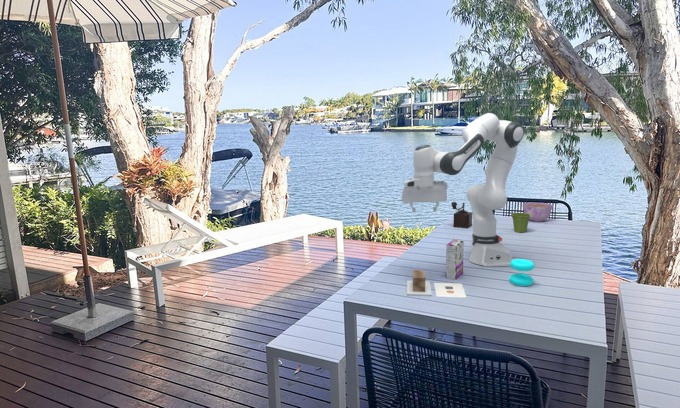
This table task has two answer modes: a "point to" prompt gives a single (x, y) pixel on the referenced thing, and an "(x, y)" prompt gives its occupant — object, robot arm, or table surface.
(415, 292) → the grey mat
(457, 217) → the manual coffee grinder
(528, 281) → the donuts
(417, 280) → the walnut block
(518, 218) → the plant pot
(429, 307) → the table surface
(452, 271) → the candy bar box
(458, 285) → the plate
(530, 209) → the bowl of food
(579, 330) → the table surface
